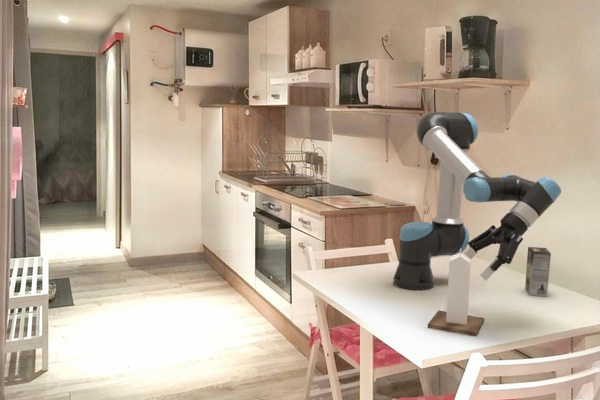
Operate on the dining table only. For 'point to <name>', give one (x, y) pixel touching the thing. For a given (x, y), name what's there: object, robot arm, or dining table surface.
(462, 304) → the milk
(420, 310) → the dining table surface
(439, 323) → the walnut board
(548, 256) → the coffee box
